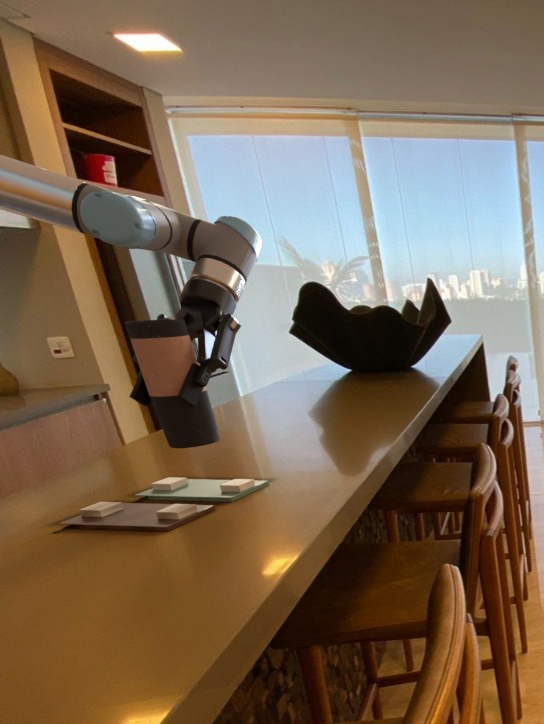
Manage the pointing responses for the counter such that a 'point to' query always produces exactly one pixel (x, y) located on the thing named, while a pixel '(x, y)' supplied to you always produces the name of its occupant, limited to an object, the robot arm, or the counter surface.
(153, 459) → the counter surface
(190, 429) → the travel mug
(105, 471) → the counter surface
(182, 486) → the strip
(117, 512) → the strip
